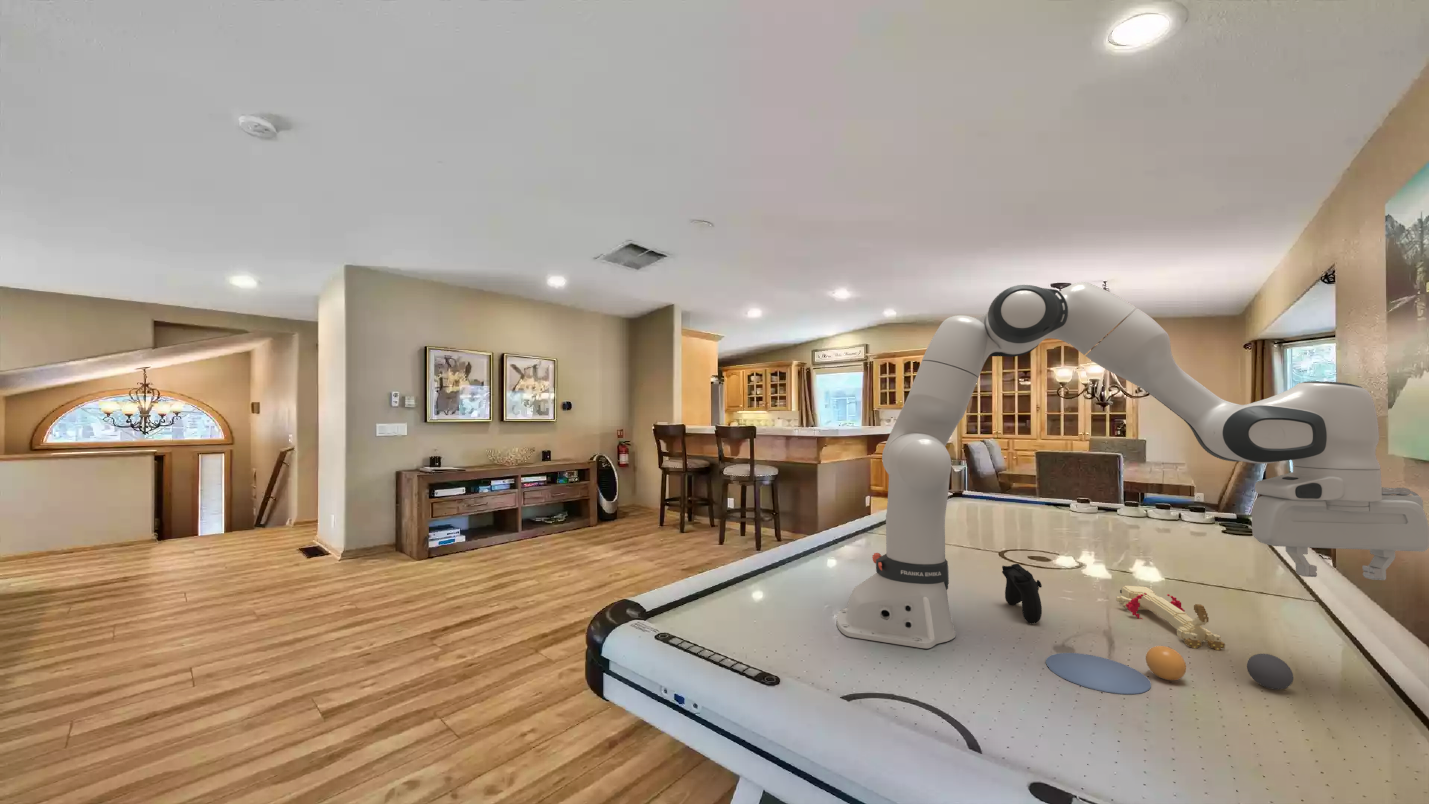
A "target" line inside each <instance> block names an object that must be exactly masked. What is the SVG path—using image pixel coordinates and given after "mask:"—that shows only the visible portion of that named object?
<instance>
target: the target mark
mask: <svg viewBox="0 0 1429 804" xmlns="http://www.w3.org/2000/svg"><path fill="white" fill-rule="evenodd" d="M1045 664H1047V665H1046V667H1047V666H1048V667H1049V668H1048V667H1047V668H1048V669H1049V670H1050V671H1051V672H1052V673H1053V672H1054V674H1055V675H1056V674H1057V676H1058V677H1060V678H1062V679H1064V680H1065V679H1066V680H1065V681H1068V682H1070V683H1073V684H1075V685H1078V686H1080V687H1084V688H1087V689H1090V690H1094V691H1099V692H1104V693H1110V694H1114V695H1115V694H1117V695H1139V694H1143V693H1146V692H1148V691H1149V690H1150V689H1151V688H1152V683H1151V681H1150V679H1149V678H1148V677H1147V676H1146V675H1145V674H1143V673H1142V672H1141V671H1139V670H1137V669H1135V668H1134V667H1131V666H1129V665H1126V664H1124V663H1122V662H1118V661H1116V660H1113V659H1109V658H1106V657H1101V656H1099V655H1098V656H1097V655H1092V654H1086V653H1080V652H1061V653H1054V654H1050V655H1049V656H1048V657H1047V658H1046V659H1045Z"/></svg>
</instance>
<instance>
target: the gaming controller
mask: <svg viewBox="0 0 1429 804" xmlns="http://www.w3.org/2000/svg"><path fill="white" fill-rule="evenodd" d="M1001 568H1002V571H1001V573H1002V574H1003V576H1004V577H1005V580H1006V581H1005V582H1006V583H1005V590H1004V599H1005V601H1006V603H1007V604H1008V605H1010V606H1015V605H1017V604H1020V603H1021V611H1022V616H1023V619H1024V620H1025V622H1026V623H1028V624H1030V623H1031V625H1035V624H1037V623H1039V622H1040V620H1041V618H1042V613H1043V609H1042V608H1043V607H1042V601H1041V597H1040V593H1039V589H1041V588H1042V587H1043V586H1042V583H1041V581H1040V579H1037V580H1036V579H1034V576H1033V574H1032V573H1031V572H1030V571H1029V570H1027V569H1025V568H1024V567H1022V565H1020V563H1013V564H1011V565H1002V567H1001Z"/></svg>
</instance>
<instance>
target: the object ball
mask: <svg viewBox="0 0 1429 804" xmlns="http://www.w3.org/2000/svg"><path fill="white" fill-rule="evenodd" d="M1145 663H1146V665H1147V667H1148V669H1149V670H1150V671H1151V672H1152V673H1153V674H1154V675H1155V676H1156V677H1158V678H1160V679H1163V680H1166V681H1176V680H1177V681H1178V680H1179V679H1181V678H1183V677H1184V676H1185V675H1186V672H1187V664H1186V661H1185V659H1184V657H1183V656H1182V655H1181V654H1180V653H1179V652H1178V651H1177V650H1175V649H1173V648H1171V647H1169V646H1165V645H1156V646H1153V647H1150V648H1149V649H1148V650H1147V651H1146V655H1145Z"/></svg>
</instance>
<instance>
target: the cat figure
mask: <svg viewBox="0 0 1429 804" xmlns="http://www.w3.org/2000/svg"><path fill="white" fill-rule="evenodd" d="M1119 593H1120V594H1121V595H1120V596H1115V601H1116V602H1118V603H1120V604H1122V607H1124V608H1125V609H1128V611H1129V612H1130V613H1132V614H1131V615H1132V616H1135V617H1136V619H1141V620H1143V618H1142V617H1140V613H1137V612H1139V610H1143V611H1150V612H1152V613H1153V614H1154V615H1157V616H1159V617H1161V618H1163V620H1165V621H1166V622H1168V623H1169V624H1170V625H1171V626H1172V627H1173V628H1174V629H1176V636H1177V637H1179V638H1180V639H1181V640H1182V641H1183V640H1184V645H1186V646H1187V647H1189V648H1190V649H1198V648H1201V647H1202V643H1204V642H1207V646H1208V647H1210V648H1211V649H1213V650H1215V651H1221V649H1225V647H1226V646H1225V645H1226V644H1225V643H1224V642H1223V641H1222V637H1221V635H1219V634H1214V633H1212V631H1210V630H1208V629H1207V628H1204V627H1202V626H1205V625H1207V624H1208V623H1209V620H1210V619H1209V617H1208V613H1207V610H1206V609H1205V606H1204V605H1202V604H1200V603H1199V604H1198V603H1197V604H1196V603H1195V604H1194V605H1193V610H1194V613H1195V614H1196V618H1192V617H1190V616H1189V615H1188V614H1187V612H1185V611H1186V610H1185V609H1184V608H1183V607H1182V602H1181V601H1180V600H1177V597H1175V596H1173V595H1170V594H1169V593H1168V594H1166V596H1168V597H1170V598H1171V600H1170V601H1168V600H1166V599H1165V598H1164V597H1161V596H1159V595H1157V593H1156V592H1155V591H1153V590H1152V589H1151V588H1149V587H1146V586H1139V585H1124V586H1122V588H1121V589H1120V590H1119Z"/></svg>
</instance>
